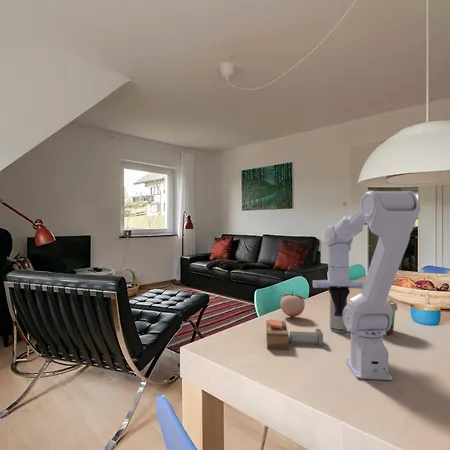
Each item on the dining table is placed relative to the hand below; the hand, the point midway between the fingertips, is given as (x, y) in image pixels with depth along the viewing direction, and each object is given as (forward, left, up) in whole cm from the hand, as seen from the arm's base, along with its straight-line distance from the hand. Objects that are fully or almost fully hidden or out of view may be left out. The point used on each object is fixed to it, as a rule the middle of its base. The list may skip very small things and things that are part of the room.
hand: (338, 312), depth 89 cm
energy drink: (+12, -3, -10) cm, 16 cm away
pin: (0, +10, -10) cm, 14 cm away
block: (0, +18, -9) cm, 20 cm away
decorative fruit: (+24, +11, -10) cm, 28 cm away
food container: (+11, -17, -10) cm, 22 cm away
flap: (0, +16, -4) cm, 17 cm away
